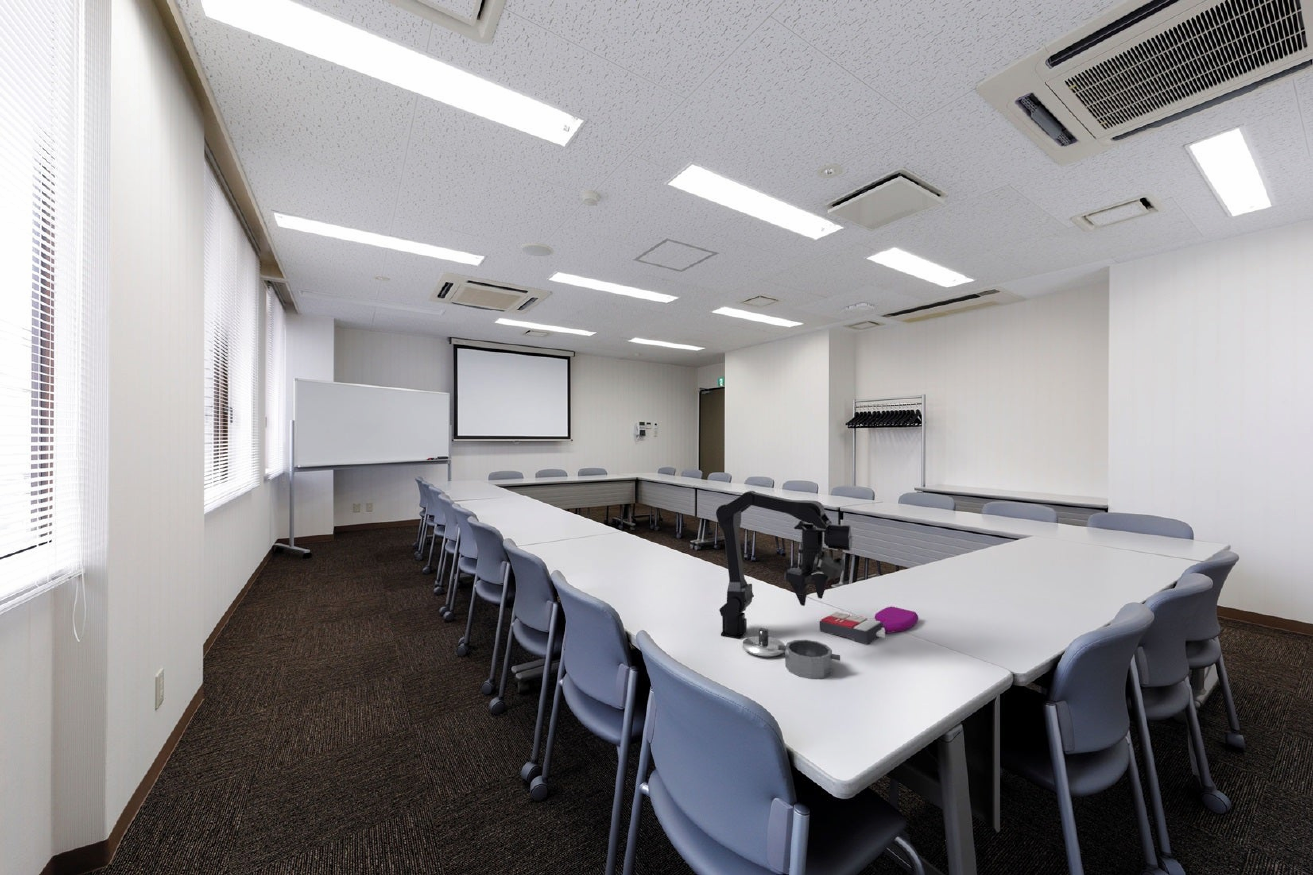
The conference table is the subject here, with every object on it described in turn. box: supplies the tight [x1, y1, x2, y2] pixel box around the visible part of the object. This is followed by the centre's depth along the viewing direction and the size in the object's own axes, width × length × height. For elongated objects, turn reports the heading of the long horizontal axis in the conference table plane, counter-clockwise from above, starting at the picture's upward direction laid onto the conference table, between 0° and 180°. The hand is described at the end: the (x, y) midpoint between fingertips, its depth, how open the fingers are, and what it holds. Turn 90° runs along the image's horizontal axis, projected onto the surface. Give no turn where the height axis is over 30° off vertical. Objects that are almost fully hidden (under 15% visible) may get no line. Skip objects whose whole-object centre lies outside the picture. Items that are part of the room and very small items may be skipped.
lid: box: [742, 627, 786, 658], centre depth 135 cm, size 12×12×6 cm
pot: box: [778, 639, 841, 680], centre depth 124 cm, size 15×11×5 cm
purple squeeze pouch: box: [874, 606, 919, 639], centre depth 150 cm, size 3×11×24 cm
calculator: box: [818, 611, 883, 645], centre depth 146 cm, size 11×4×15 cm
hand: (811, 601), depth 135 cm, fingers open, 9 cm apart
